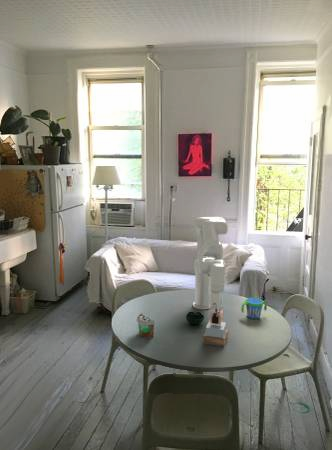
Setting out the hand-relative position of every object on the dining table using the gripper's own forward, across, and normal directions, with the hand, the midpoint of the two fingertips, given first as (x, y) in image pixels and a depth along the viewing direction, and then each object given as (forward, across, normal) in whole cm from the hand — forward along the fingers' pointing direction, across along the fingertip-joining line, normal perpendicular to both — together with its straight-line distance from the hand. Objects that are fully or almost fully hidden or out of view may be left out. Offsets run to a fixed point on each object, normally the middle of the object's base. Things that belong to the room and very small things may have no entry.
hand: (216, 320), depth 200 cm
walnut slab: (+12, -1, 0) cm, 12 cm away
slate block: (+7, 0, 0) cm, 7 cm away
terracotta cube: (+1, 0, 0) cm, 1 cm away
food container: (+11, +7, -38) cm, 40 cm away
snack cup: (+11, -37, +15) cm, 42 cm away
